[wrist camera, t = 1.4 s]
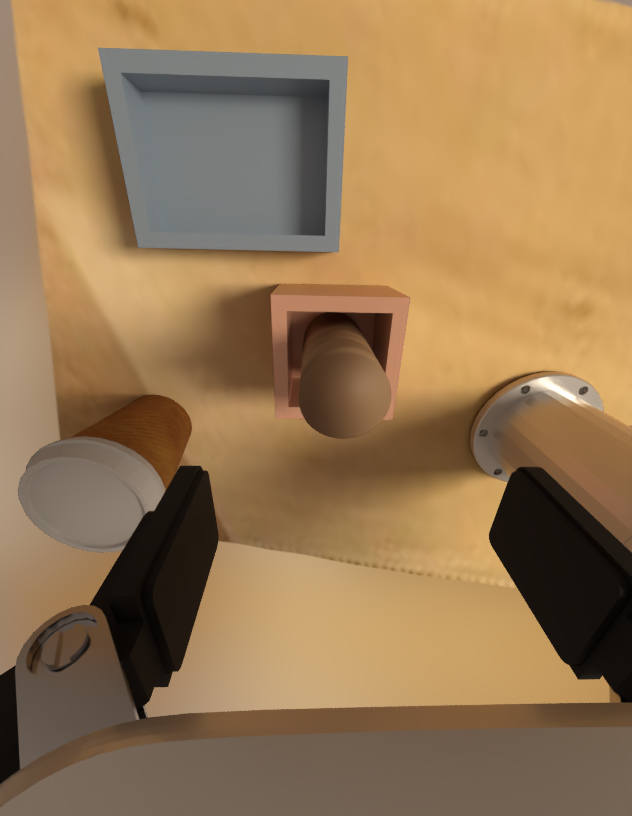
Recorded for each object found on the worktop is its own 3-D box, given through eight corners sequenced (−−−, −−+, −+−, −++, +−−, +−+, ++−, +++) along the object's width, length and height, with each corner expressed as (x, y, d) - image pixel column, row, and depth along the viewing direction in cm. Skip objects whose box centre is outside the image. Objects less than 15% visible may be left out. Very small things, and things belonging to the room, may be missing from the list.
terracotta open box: (387, 285, 27) (410, 297, 21) (376, 385, 31) (392, 420, 25) (280, 283, 27) (270, 294, 21) (282, 383, 31) (275, 418, 25)
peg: (363, 312, 27) (397, 354, 16) (358, 368, 29) (385, 439, 19) (303, 310, 27) (298, 353, 16) (303, 367, 29) (298, 438, 18)
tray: (342, 84, 21) (347, 56, 18) (335, 251, 26) (338, 252, 23) (129, 77, 21) (98, 47, 18) (159, 247, 26) (138, 247, 22)
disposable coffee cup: (106, 371, 30) (-7, 439, 19) (210, 388, 31) (155, 463, 20) (115, 454, 34) (25, 548, 24) (206, 467, 35) (159, 564, 24)
